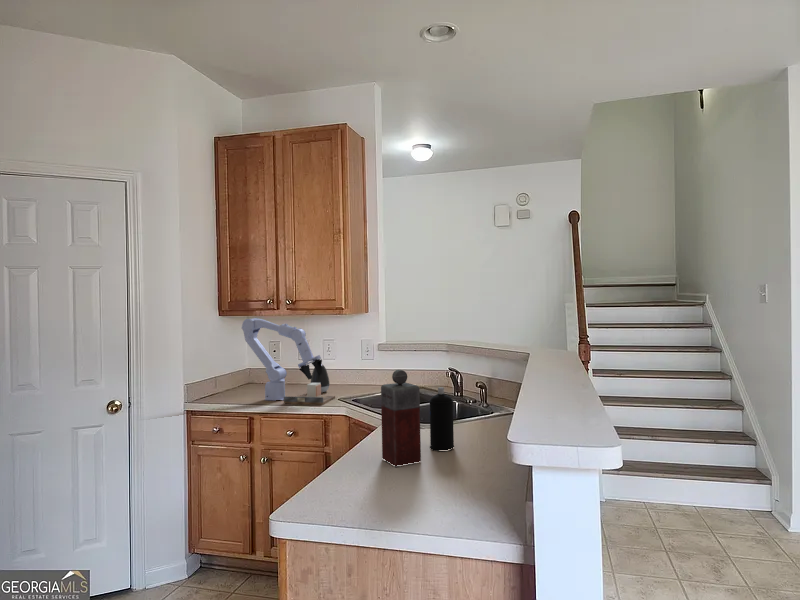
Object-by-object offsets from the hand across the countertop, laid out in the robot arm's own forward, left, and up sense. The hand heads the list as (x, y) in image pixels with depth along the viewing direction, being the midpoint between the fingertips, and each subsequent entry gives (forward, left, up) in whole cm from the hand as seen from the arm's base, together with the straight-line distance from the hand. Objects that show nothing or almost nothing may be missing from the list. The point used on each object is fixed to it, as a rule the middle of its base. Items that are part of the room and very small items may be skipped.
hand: (315, 376), depth 263 cm
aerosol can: (+74, -73, -12) cm, 104 cm away
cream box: (-1, 0, -10) cm, 11 cm away
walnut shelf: (-2, -2, -11) cm, 12 cm away
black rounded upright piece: (-6, +21, -12) cm, 25 cm away
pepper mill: (+63, -88, -12) cm, 109 cm away
